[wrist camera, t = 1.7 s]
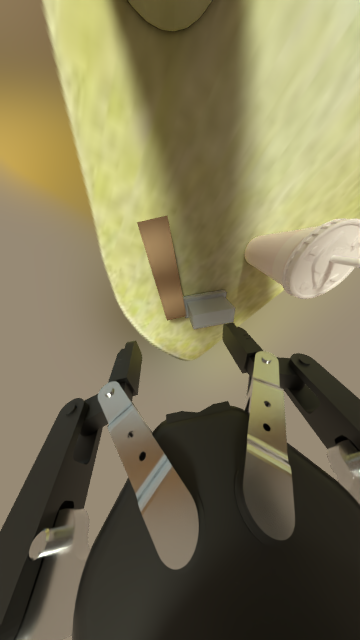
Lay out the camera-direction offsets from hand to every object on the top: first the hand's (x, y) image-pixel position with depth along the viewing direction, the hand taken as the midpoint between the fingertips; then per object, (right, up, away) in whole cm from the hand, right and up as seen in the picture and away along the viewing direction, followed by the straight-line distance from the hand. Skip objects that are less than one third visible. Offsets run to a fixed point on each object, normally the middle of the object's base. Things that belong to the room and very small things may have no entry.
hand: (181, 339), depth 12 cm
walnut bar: (-2, +9, +7) cm, 11 cm away
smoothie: (+11, +12, +7) cm, 18 cm away
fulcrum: (+4, +5, +11) cm, 12 cm away
